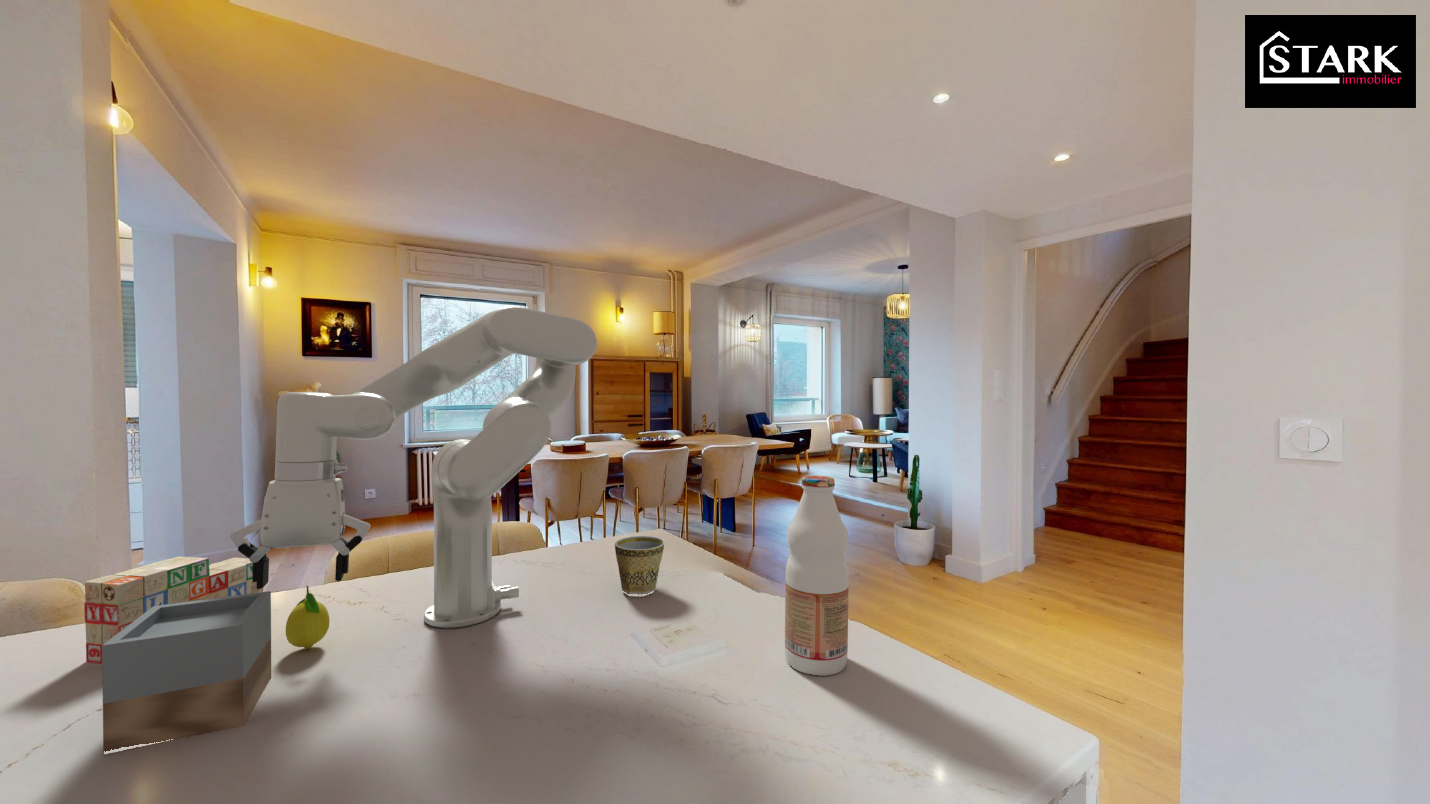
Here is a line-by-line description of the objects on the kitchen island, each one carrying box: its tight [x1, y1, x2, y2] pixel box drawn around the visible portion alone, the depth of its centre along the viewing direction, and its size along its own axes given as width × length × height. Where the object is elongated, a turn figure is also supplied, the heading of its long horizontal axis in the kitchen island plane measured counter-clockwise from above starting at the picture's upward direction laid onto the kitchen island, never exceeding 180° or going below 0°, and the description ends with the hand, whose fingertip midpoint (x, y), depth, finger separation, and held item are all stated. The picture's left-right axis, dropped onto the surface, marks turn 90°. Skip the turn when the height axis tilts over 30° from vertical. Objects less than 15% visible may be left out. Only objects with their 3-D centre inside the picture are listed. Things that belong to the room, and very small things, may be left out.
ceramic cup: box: [614, 535, 665, 595], centre depth 111 cm, size 13×10×10 cm
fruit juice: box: [784, 474, 850, 677], centre depth 81 cm, size 9×9×28 cm
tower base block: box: [102, 637, 272, 753], centre depth 67 cm, size 12×12×6 cm
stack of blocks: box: [83, 555, 264, 665], centre depth 89 cm, size 21×6×12 cm, turn 171°
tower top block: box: [101, 590, 272, 705], centre depth 67 cm, size 12×12×6 cm
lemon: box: [285, 585, 330, 650], centre depth 84 cm, size 7×6×10 cm
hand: (302, 582), depth 83 cm, fingers open, 9 cm apart
